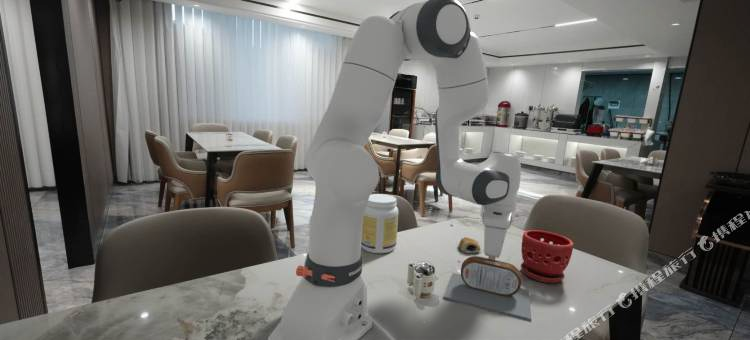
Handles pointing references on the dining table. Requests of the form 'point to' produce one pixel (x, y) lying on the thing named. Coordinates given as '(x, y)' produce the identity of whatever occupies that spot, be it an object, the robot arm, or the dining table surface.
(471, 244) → the pastry
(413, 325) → the dining table surface
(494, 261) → the tin
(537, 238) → the plant pot
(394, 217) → the supplement tub
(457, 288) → the mat
